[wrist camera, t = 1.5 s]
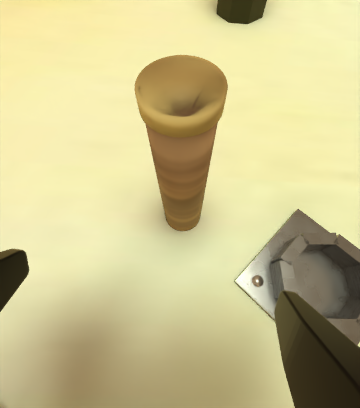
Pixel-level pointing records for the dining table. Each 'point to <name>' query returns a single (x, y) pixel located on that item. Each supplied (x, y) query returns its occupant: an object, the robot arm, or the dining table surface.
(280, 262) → the cup bracket
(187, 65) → the tall ribbed vase
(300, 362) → the robot arm
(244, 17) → the wine bottle
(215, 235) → the dining table surface
